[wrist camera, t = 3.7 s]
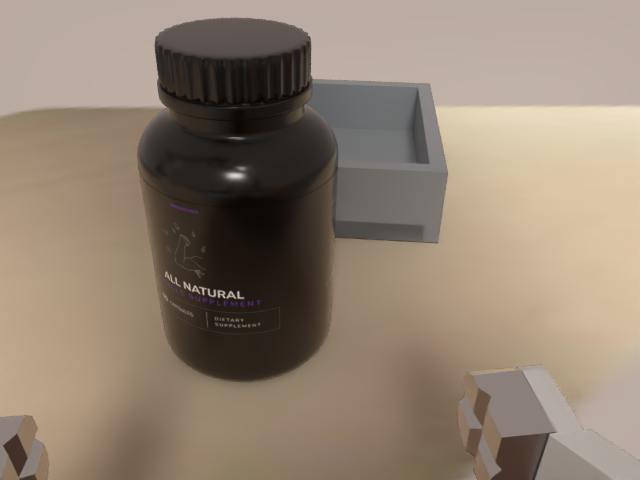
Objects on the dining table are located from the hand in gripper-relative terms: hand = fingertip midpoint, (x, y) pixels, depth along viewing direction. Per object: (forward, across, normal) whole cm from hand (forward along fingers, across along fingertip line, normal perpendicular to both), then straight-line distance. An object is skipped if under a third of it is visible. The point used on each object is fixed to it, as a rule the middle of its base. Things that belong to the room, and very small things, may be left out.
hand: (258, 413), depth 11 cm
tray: (+24, -4, +8) cm, 26 cm away
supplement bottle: (+11, 0, +8) cm, 14 cm away
